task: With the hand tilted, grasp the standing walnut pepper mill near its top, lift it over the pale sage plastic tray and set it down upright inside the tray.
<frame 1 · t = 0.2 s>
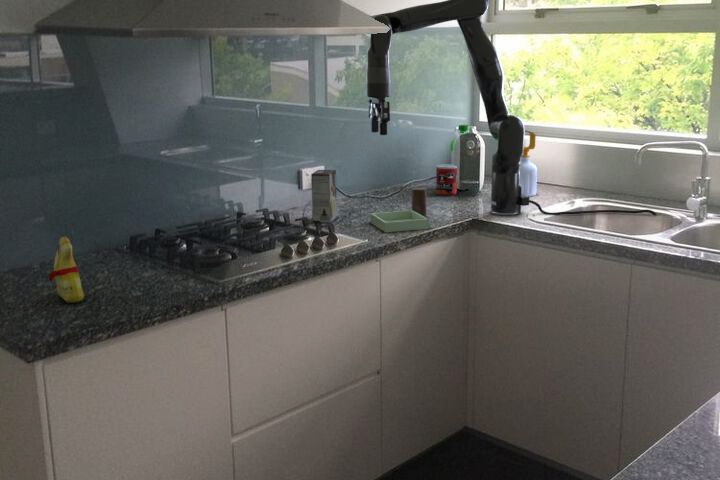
hand: (379, 133, 262), 29 cm above the worktop, tool pointing down, fingers open, 8 cm apart
chocolate bunny: (66, 299, 196), on the worktop
coffee box: (325, 220, 276), on the worktop
soap bottle: (523, 195, 313), on the worktop
plastic bottle: (462, 189, 325), on the worktop
tray: (399, 225, 266), on the worktop
pepper mill: (419, 218, 276), on the worktop
canned food: (446, 194, 316), on the worktop
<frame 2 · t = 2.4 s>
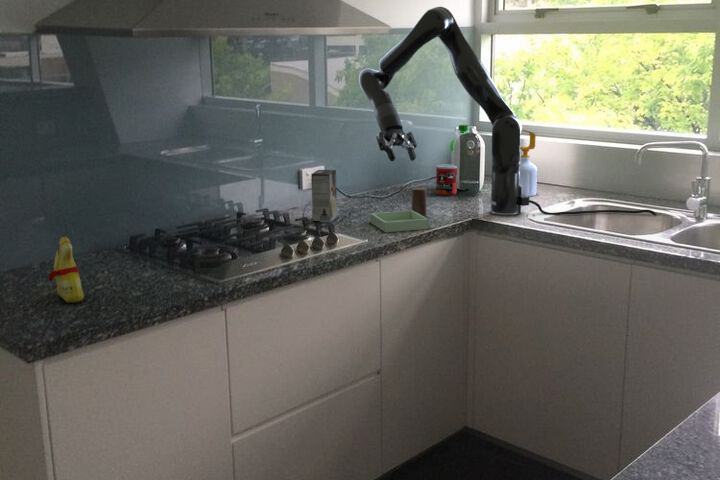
hand: (403, 159, 280), 18 cm above the worktop, tool tilted 40°, fingers open, 8 cm apart
nothing on the worktop moved.
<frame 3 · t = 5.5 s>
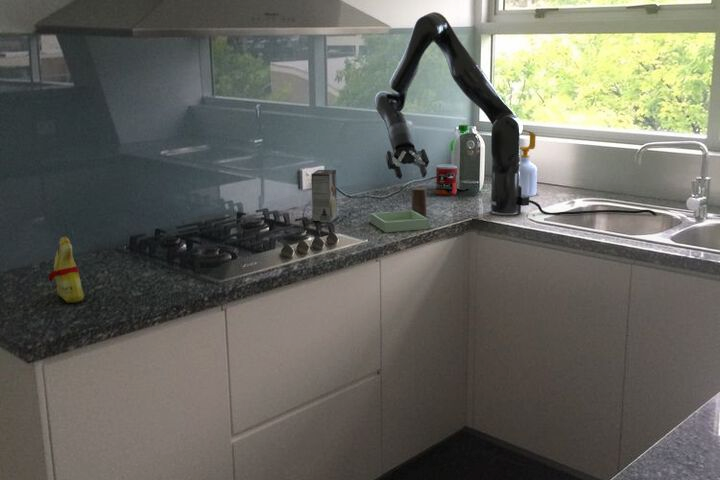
hand: (412, 176, 279), 13 cm above the worktop, tool tilted 45°, fingers open, 8 cm apart
nothing on the worktop moved.
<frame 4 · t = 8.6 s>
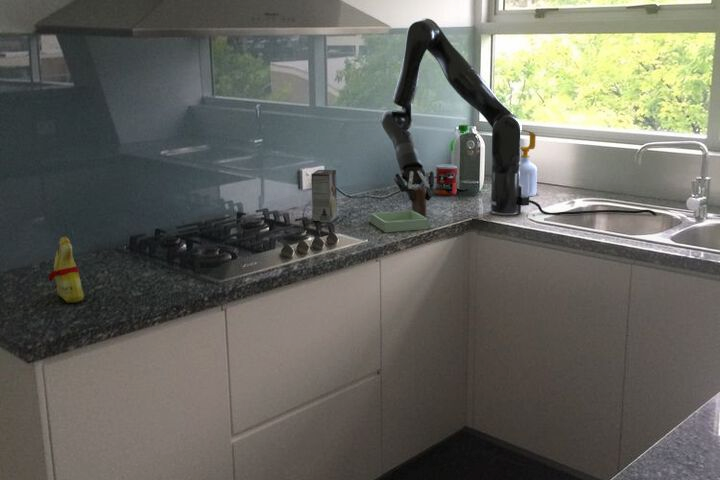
hand: (421, 199, 273), 7 cm above the worktop, tool tilted 45°, fingers closed on pepper mill, 5 cm apart
pepper mill: (419, 218, 276), on the worktop, touching gripper
everything else where it was.
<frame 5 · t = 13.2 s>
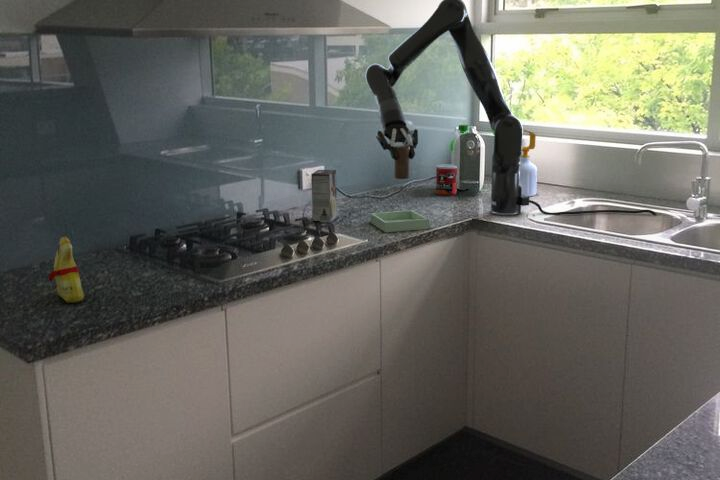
hand: (404, 157, 261), 22 cm above the worktop, tool tilted 45°, fingers closed on pepper mill, 5 cm apart
pepper mill: (402, 177, 264), point 15 cm above the worktop, touching gripper
everything else where it was.
when the fingers open (7 cm above the worktop, at t = 17.7 s): pepper mill stays where it is, resting on tray.
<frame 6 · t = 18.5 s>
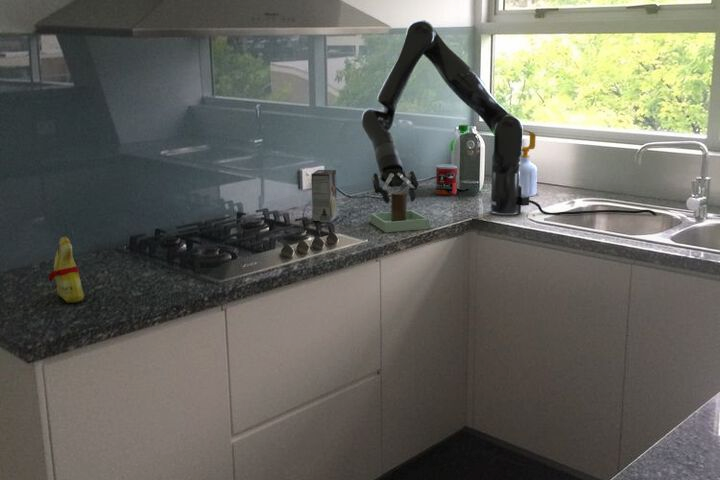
hand: (400, 200, 263), 8 cm above the worktop, tool tilted 45°, fingers open, 8 cm apart
pepper mill: (398, 223, 266), point 1 cm above the worktop, touching tray
everything else where it was.
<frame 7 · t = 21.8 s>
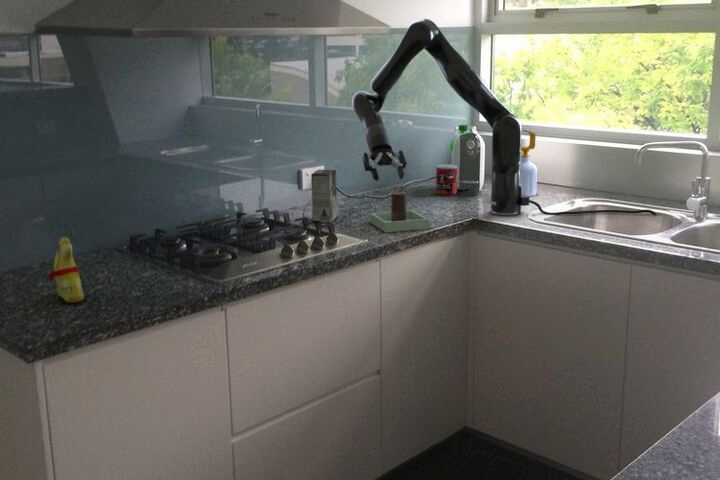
hand: (389, 178, 274), 13 cm above the worktop, tool tilted 45°, fingers open, 8 cm apart
nothing on the worktop moved.
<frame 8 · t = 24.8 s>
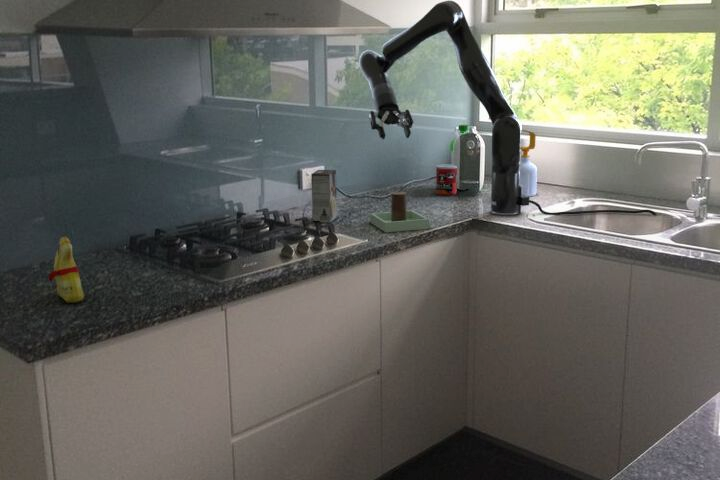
hand: (396, 137, 273), 27 cm above the worktop, tool tilted 45°, fingers open, 8 cm apart
nothing on the worktop moved.
at the end: pepper mill inside the target area in the tray (0.1 cm from its centre), point 0.6 cm above the tray's base; pepper mill tilted 0°; the gripper is holding nothing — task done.
